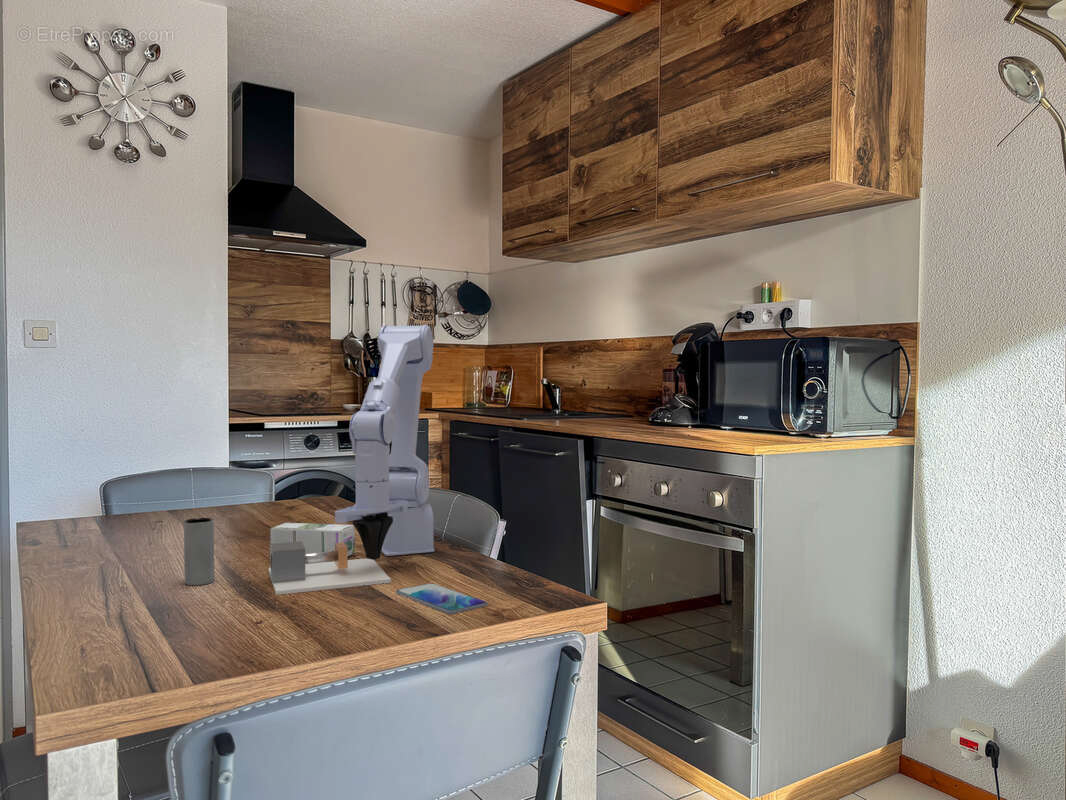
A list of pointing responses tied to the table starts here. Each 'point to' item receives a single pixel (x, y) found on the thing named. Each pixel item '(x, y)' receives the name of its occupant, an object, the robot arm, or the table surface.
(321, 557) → the shaft
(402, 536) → the robot arm
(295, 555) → the bearing block
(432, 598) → the smartphone
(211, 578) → the grey cylinder
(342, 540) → the syrup box
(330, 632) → the table surface
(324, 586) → the mounting plate
